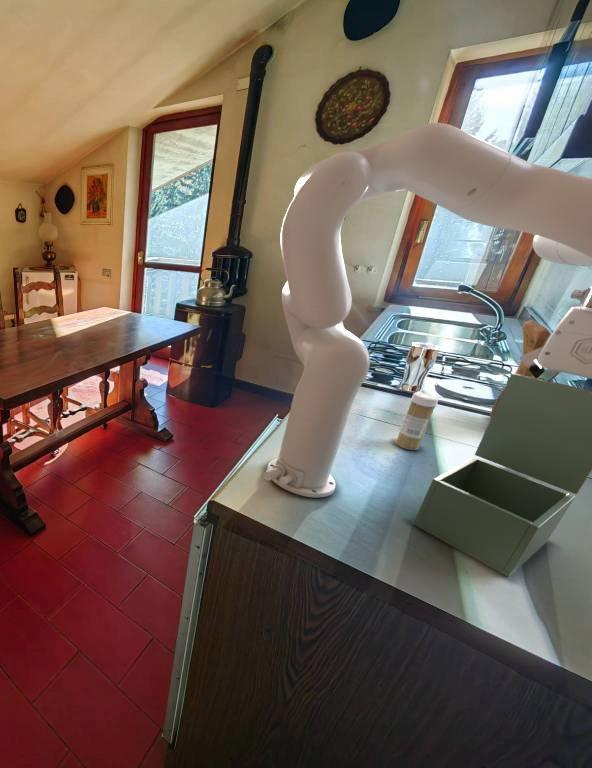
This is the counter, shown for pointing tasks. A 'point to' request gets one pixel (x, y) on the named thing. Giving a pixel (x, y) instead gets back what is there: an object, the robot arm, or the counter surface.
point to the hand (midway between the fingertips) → (562, 411)
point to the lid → (542, 432)
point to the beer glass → (418, 366)
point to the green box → (492, 513)
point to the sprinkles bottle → (416, 420)
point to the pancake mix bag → (529, 348)
